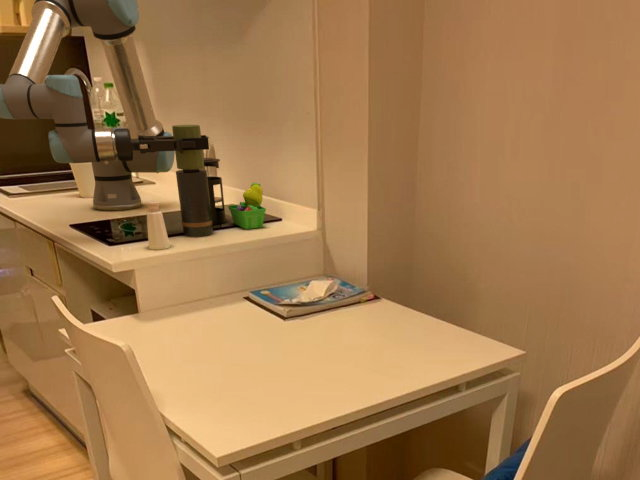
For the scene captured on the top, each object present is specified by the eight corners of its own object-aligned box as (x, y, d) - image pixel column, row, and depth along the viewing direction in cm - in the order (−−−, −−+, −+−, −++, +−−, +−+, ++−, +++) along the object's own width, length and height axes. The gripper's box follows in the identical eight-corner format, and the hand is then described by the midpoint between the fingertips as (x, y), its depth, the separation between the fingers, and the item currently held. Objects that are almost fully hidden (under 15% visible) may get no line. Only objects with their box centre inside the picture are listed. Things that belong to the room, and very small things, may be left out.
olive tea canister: (175, 167, 183) (169, 125, 178) (200, 165, 186) (196, 124, 181) (180, 170, 178) (175, 126, 173) (206, 168, 180) (202, 125, 175)
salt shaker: (156, 250, 173) (149, 204, 167) (144, 247, 176) (137, 202, 170) (174, 246, 176) (168, 201, 171) (162, 243, 179) (155, 199, 174)
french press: (231, 223, 201) (222, 136, 190) (199, 226, 198) (188, 138, 186) (220, 217, 211) (211, 133, 199) (189, 219, 207) (179, 135, 196)
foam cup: (106, 196, 247) (99, 156, 240) (80, 199, 242) (72, 158, 236) (98, 193, 254) (91, 154, 247) (73, 195, 249) (65, 156, 243)
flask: (180, 232, 192) (170, 153, 182) (209, 229, 195) (201, 152, 185) (187, 237, 185) (177, 156, 175) (216, 235, 188) (208, 155, 178)
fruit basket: (228, 224, 201) (224, 182, 196) (256, 220, 205) (253, 179, 199) (243, 230, 193) (239, 187, 187) (272, 227, 196) (269, 184, 191)
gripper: (119, 157, 185) (206, 154, 190) (116, 165, 168) (211, 162, 173) (114, 126, 181) (203, 123, 186) (111, 131, 165) (208, 128, 169)
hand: (207, 142), depth 180 cm, fingers closed on olive tea canister, 7 cm apart
